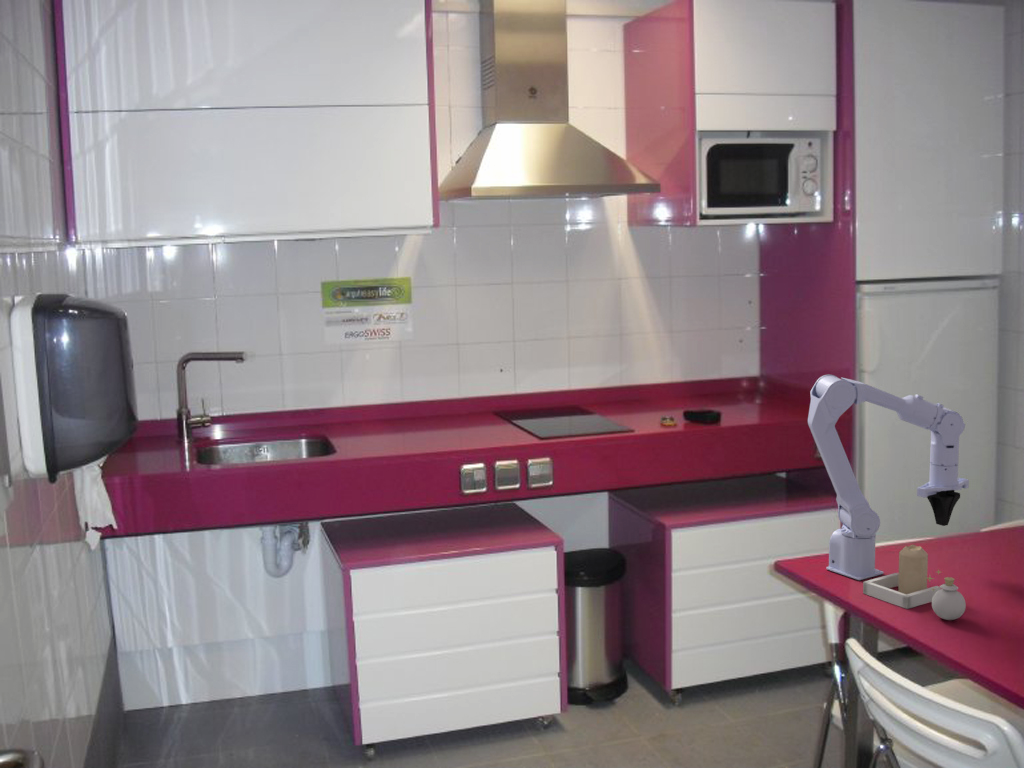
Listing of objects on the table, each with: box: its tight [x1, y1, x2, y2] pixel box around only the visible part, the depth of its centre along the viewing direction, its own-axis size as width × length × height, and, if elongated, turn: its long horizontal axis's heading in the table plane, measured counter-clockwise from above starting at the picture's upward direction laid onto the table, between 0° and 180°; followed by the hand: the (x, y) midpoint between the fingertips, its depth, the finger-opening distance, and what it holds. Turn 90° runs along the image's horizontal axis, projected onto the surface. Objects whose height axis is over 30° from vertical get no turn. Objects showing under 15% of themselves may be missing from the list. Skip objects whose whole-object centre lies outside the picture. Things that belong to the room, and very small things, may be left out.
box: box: [862, 572, 942, 610], centre depth 214 cm, size 11×10×2 cm
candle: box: [897, 544, 929, 595], centre depth 215 cm, size 6×6×10 cm
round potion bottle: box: [926, 568, 967, 621], centre depth 200 cm, size 6×7×10 cm
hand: (942, 524), depth 227 cm, fingers closed
